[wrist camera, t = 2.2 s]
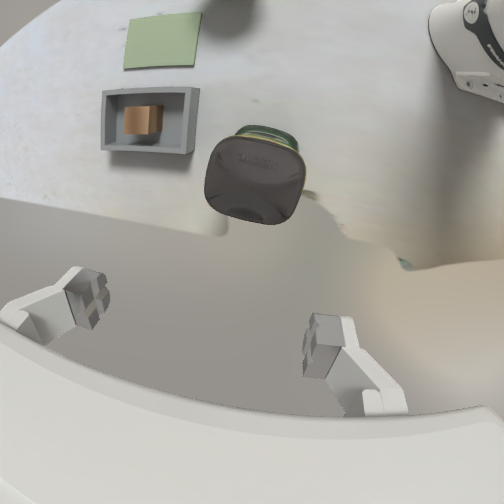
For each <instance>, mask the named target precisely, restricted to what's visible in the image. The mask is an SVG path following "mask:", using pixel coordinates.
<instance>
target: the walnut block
mask: <svg viewBox="0 0 504 504" xmlns="http://www.w3.org/2000/svg"><path fill="white" fill-rule="evenodd" d="M163 111H164V105H150V106H131V107H125V114H124V134H151V133H155V132H159V131H162V126H163Z"/></svg>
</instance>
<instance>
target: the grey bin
mask: <svg viewBox="0 0 504 504" xmlns="http://www.w3.org/2000/svg"><path fill="white" fill-rule="evenodd" d="M199 93H200V88H193V87H149V88H130V89H117V90H106V91H102V108H101V150H118V151H144V152H162V153H176V154H187V153H189V152H191V151H193V150H194V148H195V135H196V123H197V113H198V103H199ZM150 105H164V111H163V126H162V131H159V132H155V133H151V134H124V114H125V107H131V106H150Z"/></svg>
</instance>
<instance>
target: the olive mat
mask: <svg viewBox="0 0 504 504" xmlns="http://www.w3.org/2000/svg"><path fill="white" fill-rule="evenodd" d="M201 17H202V13H201V12H197V13H180V14H168V15H159V16H151V17H144V18H137V19H131V20H130V23H129V29H128V35H127V41H126V48H125V56H124V64H123V69H128V68H139V67H152V66H176V65H194V64H195V56H196V49H197V42H198V36H199V29H200V23H201Z"/></svg>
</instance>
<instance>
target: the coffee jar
mask: <svg viewBox="0 0 504 504" xmlns="http://www.w3.org/2000/svg"><path fill="white" fill-rule="evenodd" d="M305 180H306V165H305V162H304V160H303V158H302V157H301V155H300V154H299V146H298V143H297V141H296V140H295V138H294V137H293V136H291V135H290V134H288V133H285V132H283V131H280V130H277V129H274V128H270V127H265V126H258V125H248V126H244V127H242V128H241V129H240V130H238V131H237V133H236V134H235V135H234V136H230V137H227V138H225V139H223V140H222V141H220V142H219V143H218V144H217V145H216V147H215V148H214V150H213V152H212V154H211V156H210V160H209V163H208V167H207V171H206V177H205V186H204V194H205V198H206V200H207V202H208V203H209V205H210V206H211V207H212V208H213V209H215V210H216V211H218V212H220V213H222V214H224V215H228V216H231V217H234V218H238V219H241V220H245V221H250V222H255V223H261V224H266V225H276V224H280V223H282V222H285V221H286V220H287V219H289V218H290V217H291V215H292V214H293V212H294V210H295V208H296V206H297V204H298V201H299V198H300V196H301V194H302V191H303V188H304V184H305Z"/></svg>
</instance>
